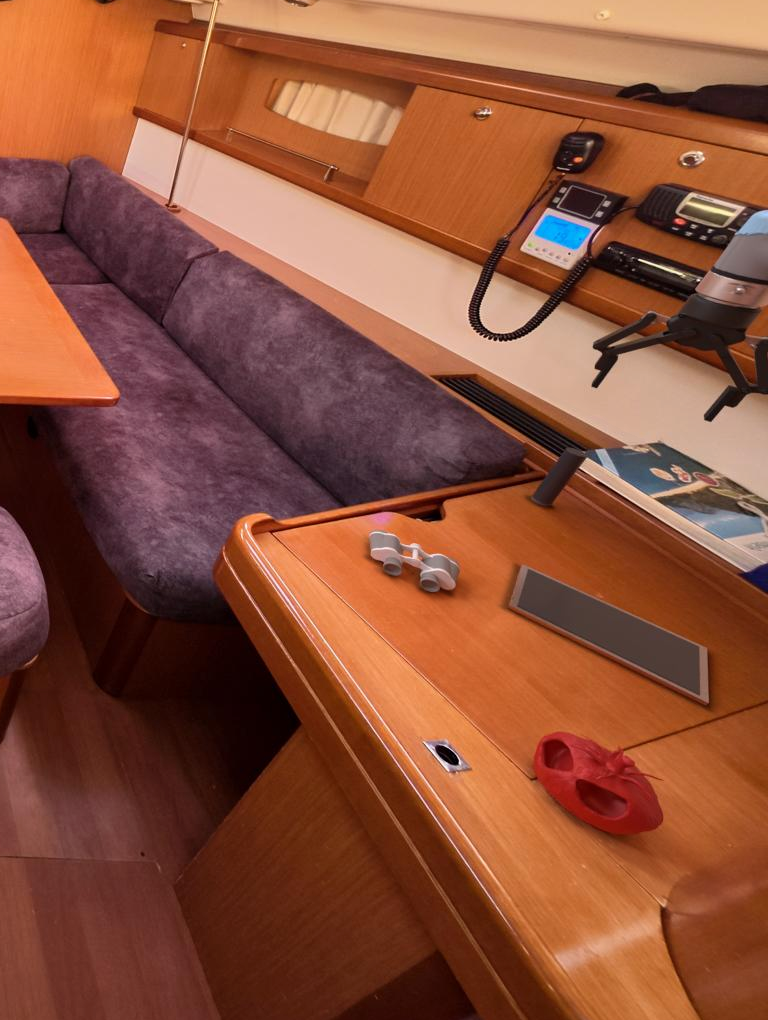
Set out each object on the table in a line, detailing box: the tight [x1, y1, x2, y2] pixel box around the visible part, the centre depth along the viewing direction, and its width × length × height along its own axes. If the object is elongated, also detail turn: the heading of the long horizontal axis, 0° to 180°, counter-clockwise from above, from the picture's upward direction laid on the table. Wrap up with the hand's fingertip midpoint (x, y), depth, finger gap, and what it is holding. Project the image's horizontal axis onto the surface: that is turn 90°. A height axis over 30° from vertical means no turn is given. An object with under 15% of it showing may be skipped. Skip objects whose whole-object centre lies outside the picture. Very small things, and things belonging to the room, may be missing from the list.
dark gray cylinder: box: [531, 447, 589, 507], centre depth 121 cm, size 3×3×13 cm
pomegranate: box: [532, 730, 665, 835], centre depth 74 cm, size 10×10×9 cm
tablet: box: [507, 563, 710, 707], centre depth 98 cm, size 20×14×1 cm
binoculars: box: [368, 529, 461, 593], centre depth 107 cm, size 12×8×4 cm, turn 47°
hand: (648, 401), depth 116 cm, fingers open, 13 cm apart
